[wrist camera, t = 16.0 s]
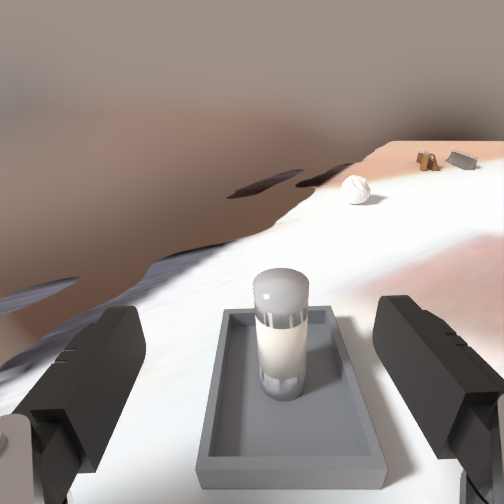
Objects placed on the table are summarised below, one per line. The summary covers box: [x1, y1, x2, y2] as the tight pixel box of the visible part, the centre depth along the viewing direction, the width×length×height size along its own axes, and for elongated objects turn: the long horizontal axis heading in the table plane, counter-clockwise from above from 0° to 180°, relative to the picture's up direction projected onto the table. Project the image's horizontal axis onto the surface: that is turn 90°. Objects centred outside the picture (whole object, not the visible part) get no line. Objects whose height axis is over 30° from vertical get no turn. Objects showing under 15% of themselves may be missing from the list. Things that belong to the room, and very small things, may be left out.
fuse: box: [253, 268, 309, 401], centre depth 25 cm, size 5×5×12 cm
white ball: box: [341, 175, 370, 204], centre depth 75 cm, size 8×8×8 cm
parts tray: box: [195, 306, 388, 489], centre depth 28 cm, size 14×18×3 cm
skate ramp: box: [417, 150, 478, 171], centre depth 109 cm, size 29×35×8 cm
